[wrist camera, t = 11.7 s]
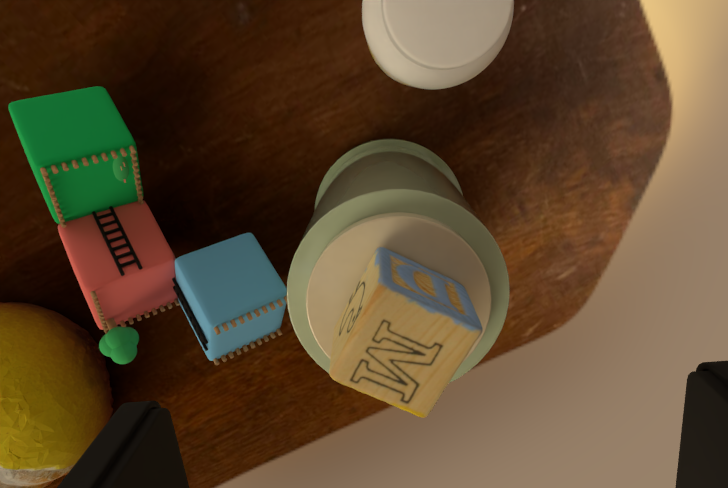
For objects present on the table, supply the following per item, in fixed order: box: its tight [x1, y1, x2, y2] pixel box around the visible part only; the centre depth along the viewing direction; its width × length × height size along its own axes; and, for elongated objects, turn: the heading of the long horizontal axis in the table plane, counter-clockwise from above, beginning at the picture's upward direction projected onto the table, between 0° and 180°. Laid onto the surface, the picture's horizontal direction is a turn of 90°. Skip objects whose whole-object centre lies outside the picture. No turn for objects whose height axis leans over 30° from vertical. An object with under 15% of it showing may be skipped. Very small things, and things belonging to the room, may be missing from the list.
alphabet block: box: [329, 247, 483, 417], centre depth 15 cm, size 3×3×3 cm
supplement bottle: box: [362, 0, 514, 90], centre depth 20 cm, size 5×5×10 cm
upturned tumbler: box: [287, 138, 510, 383], centre depth 22 cm, size 8×8×12 cm
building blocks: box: [8, 86, 287, 365], centre depth 25 cm, size 8×8×12 cm
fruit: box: [0, 302, 114, 488], centre depth 29 cm, size 11×10×8 cm
